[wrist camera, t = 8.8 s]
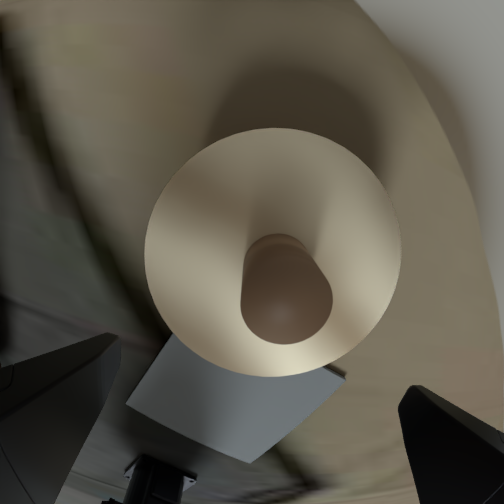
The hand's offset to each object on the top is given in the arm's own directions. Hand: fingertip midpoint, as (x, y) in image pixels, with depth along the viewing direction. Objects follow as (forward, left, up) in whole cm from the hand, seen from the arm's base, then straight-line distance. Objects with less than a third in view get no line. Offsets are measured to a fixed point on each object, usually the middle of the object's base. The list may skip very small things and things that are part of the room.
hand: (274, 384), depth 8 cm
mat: (-10, -4, -12) cm, 17 cm away
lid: (+2, +1, -7) cm, 7 cm away
